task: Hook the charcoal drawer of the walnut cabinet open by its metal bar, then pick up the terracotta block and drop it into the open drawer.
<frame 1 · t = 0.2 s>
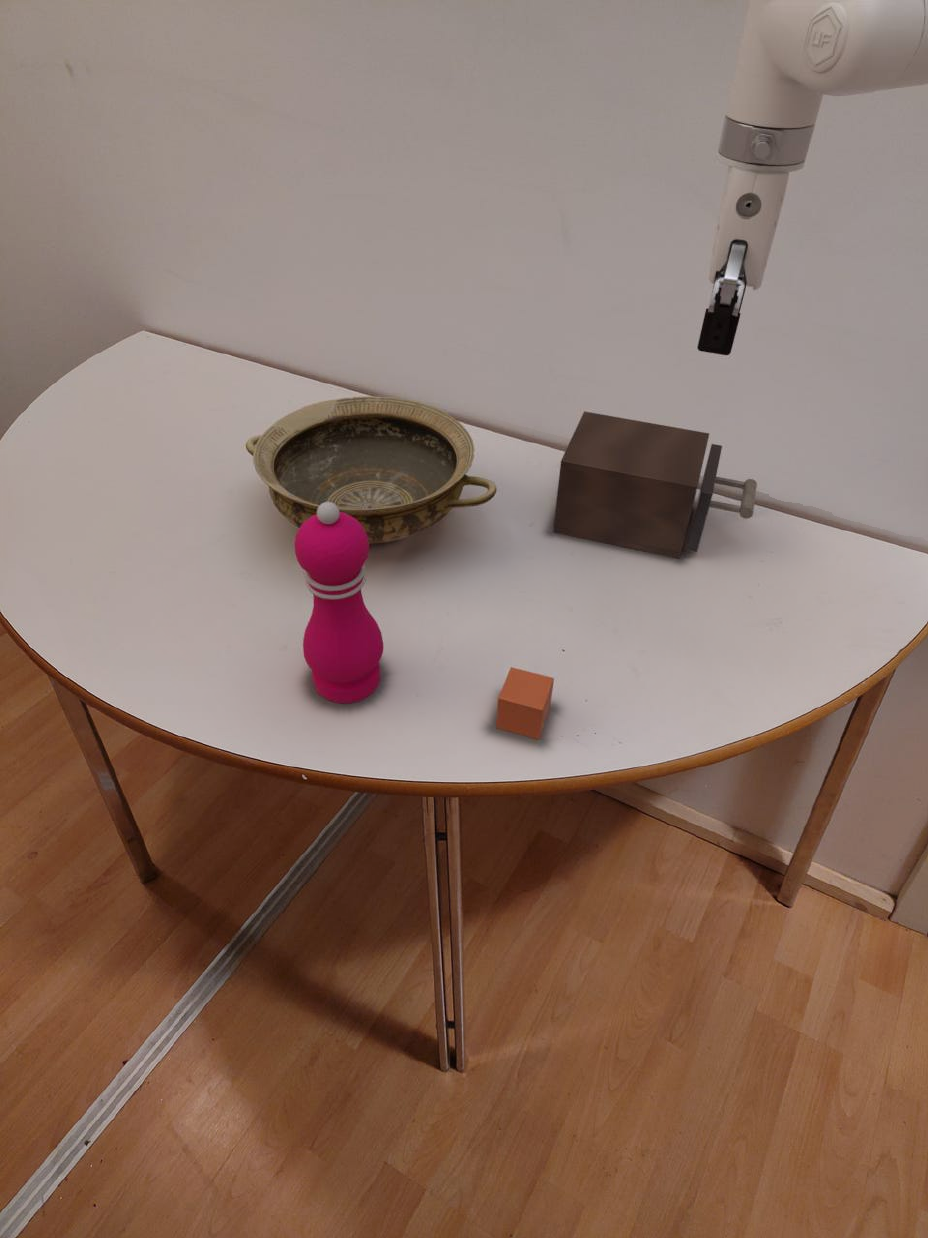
hand: (718, 331, 83), 22 cm above the table, tool pointing down, fingers open, 9 cm apart
block: (523, 717, 74), on the table
cabinet: (624, 517, 97), on the table
pepper mill: (347, 680, 78), on the table
ceramic bowl: (370, 522, 96), on the table
drawer: (670, 490, 93), point 5 cm above the table, slide at 0.5 cm
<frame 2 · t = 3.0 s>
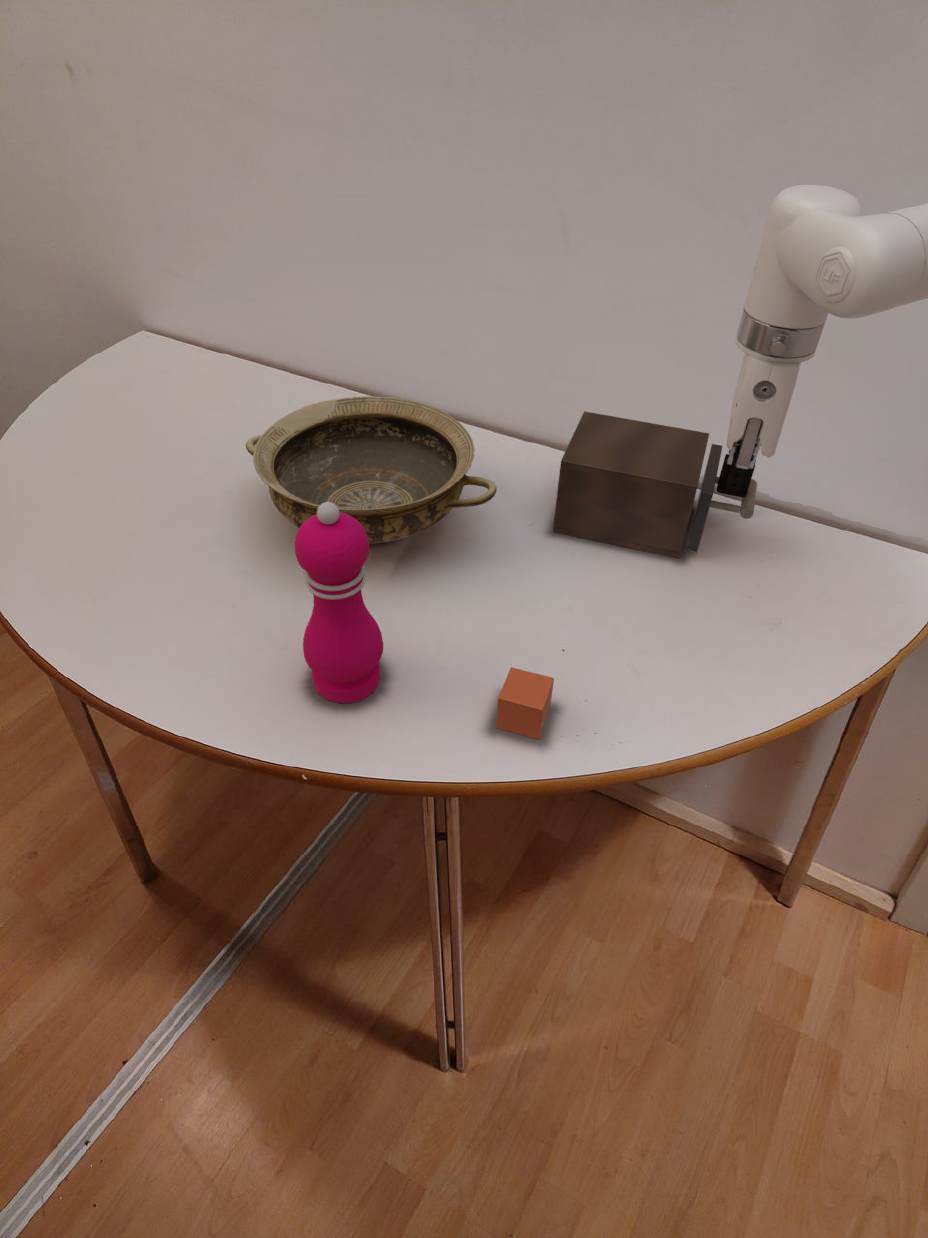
hand: (731, 490, 91), 6 cm above the table, tool pointing down, fingers closed
drawer: (670, 490, 93), point 5 cm above the table, slide at 0.5 cm, touching gripper
everything else where it was.
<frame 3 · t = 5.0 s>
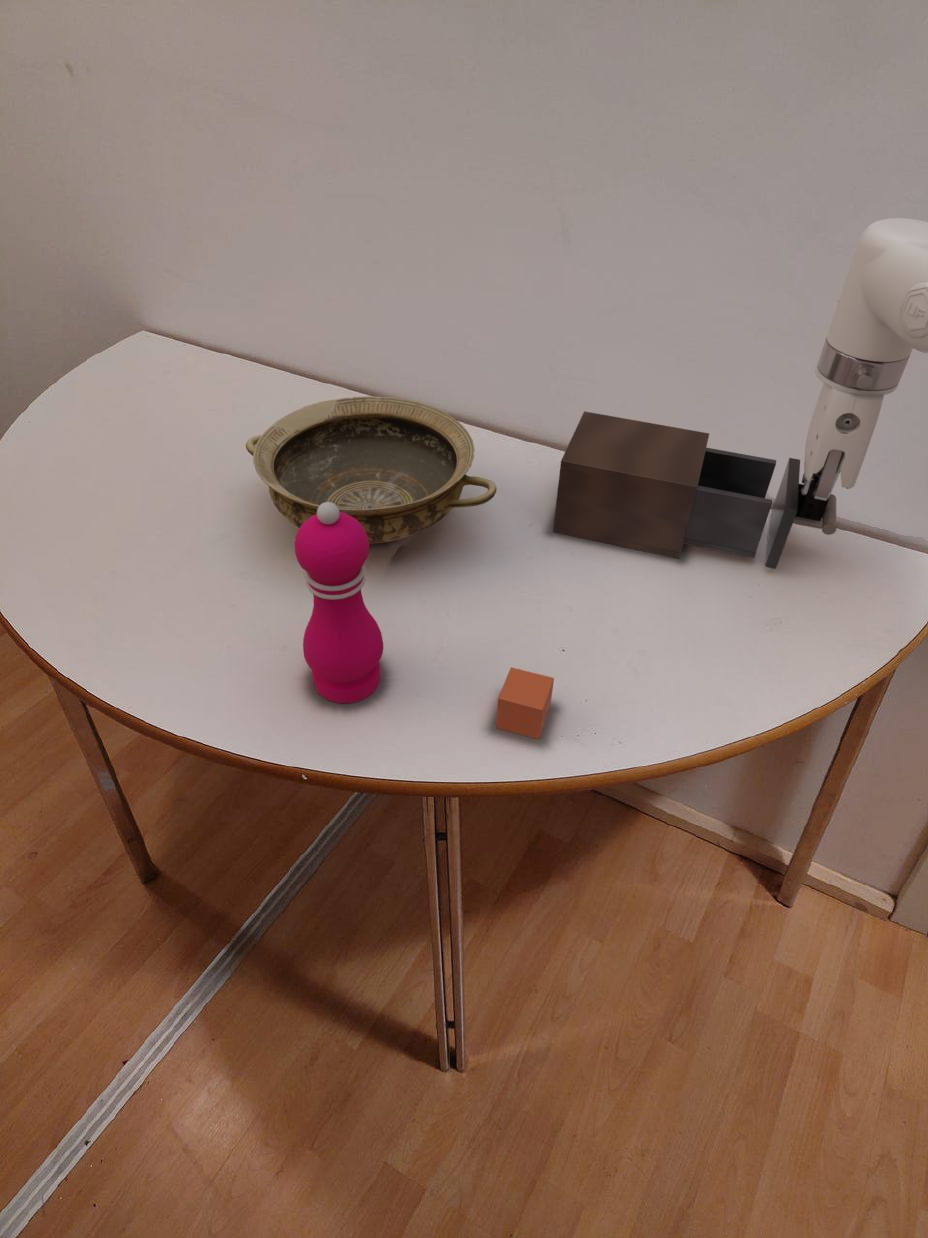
hand: (803, 520, 90), 4 cm above the table, tool pointing down, fingers closed
drawer: (747, 505, 91), point 5 cm above the table, slide at 9.1 cm, touching gripper
everything else where it was.
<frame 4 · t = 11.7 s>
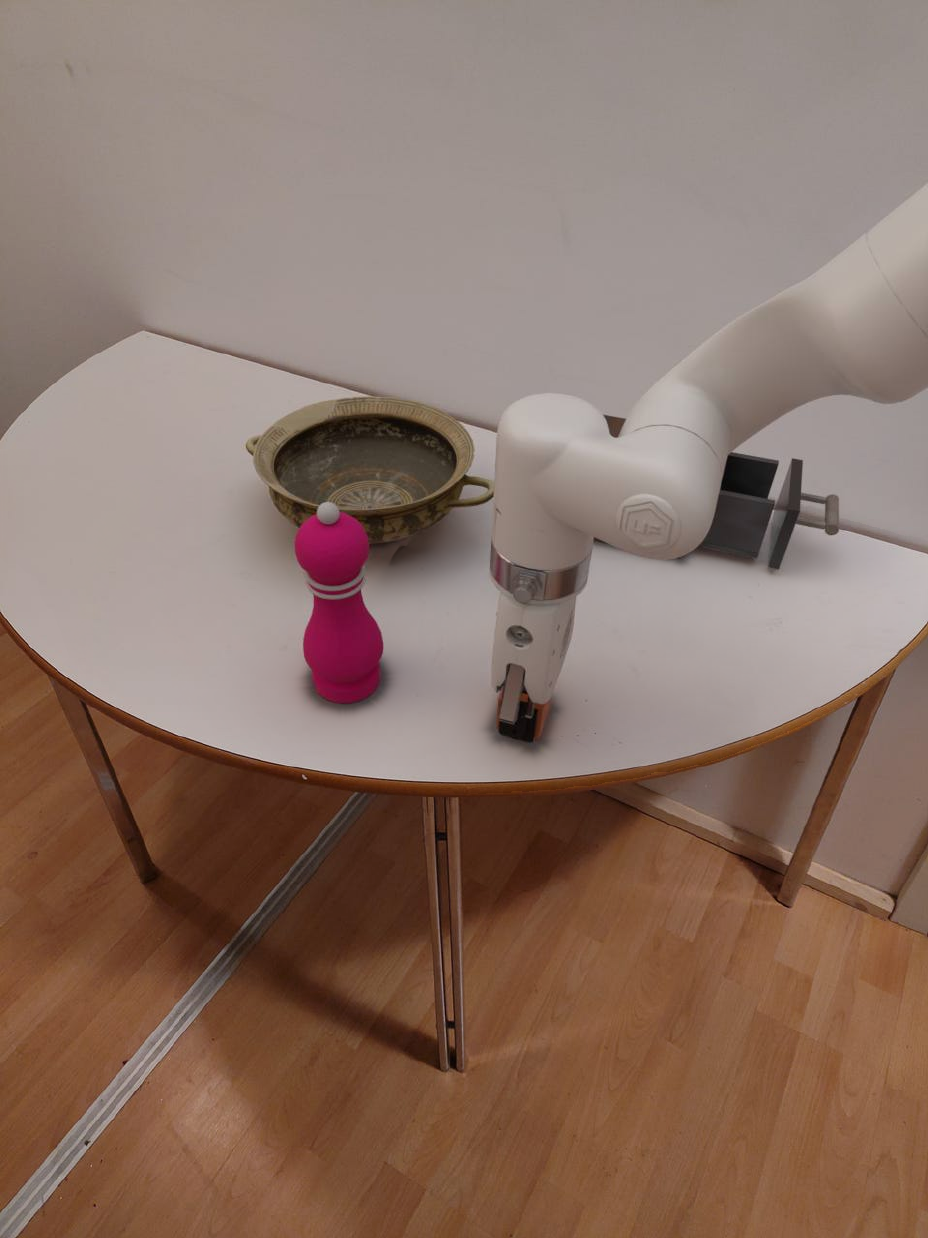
hand: (523, 715, 74), 0 cm above the table, tool pointing down, fingers closed on block, 4 cm apart
block: (523, 717, 74), on the table, touching gripper
drawer: (750, 506, 91), point 5 cm above the table, slide at 9.3 cm
everything else where it was.
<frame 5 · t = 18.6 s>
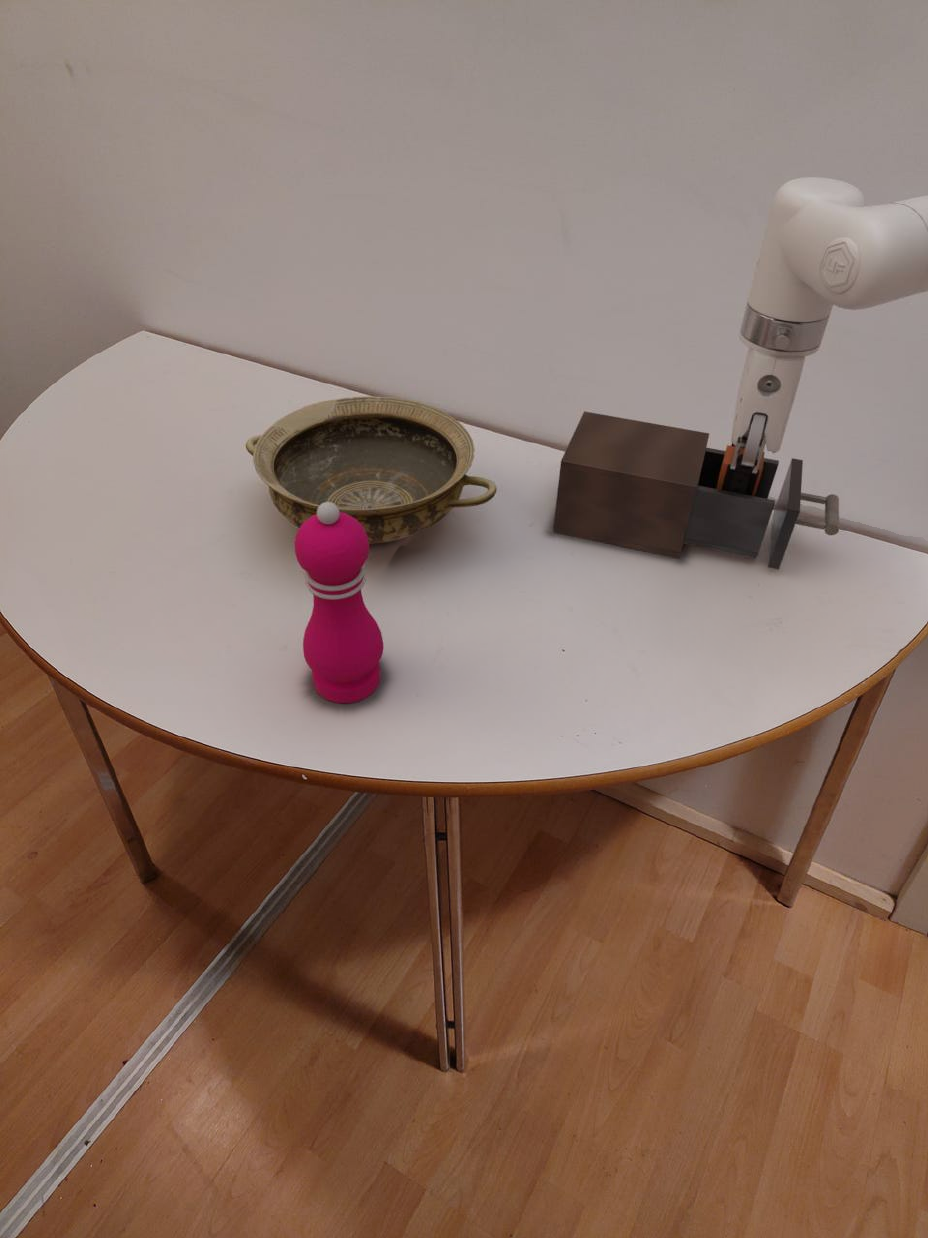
hand: (736, 486, 90), 7 cm above the table, tool pointing down, fingers closed on block, 4 cm apart
block: (735, 488, 90), point 7 cm above the table, touching gripper
drawer: (750, 506, 91), point 5 cm above the table, slide at 9.3 cm, touching gripper
everything else where it was.
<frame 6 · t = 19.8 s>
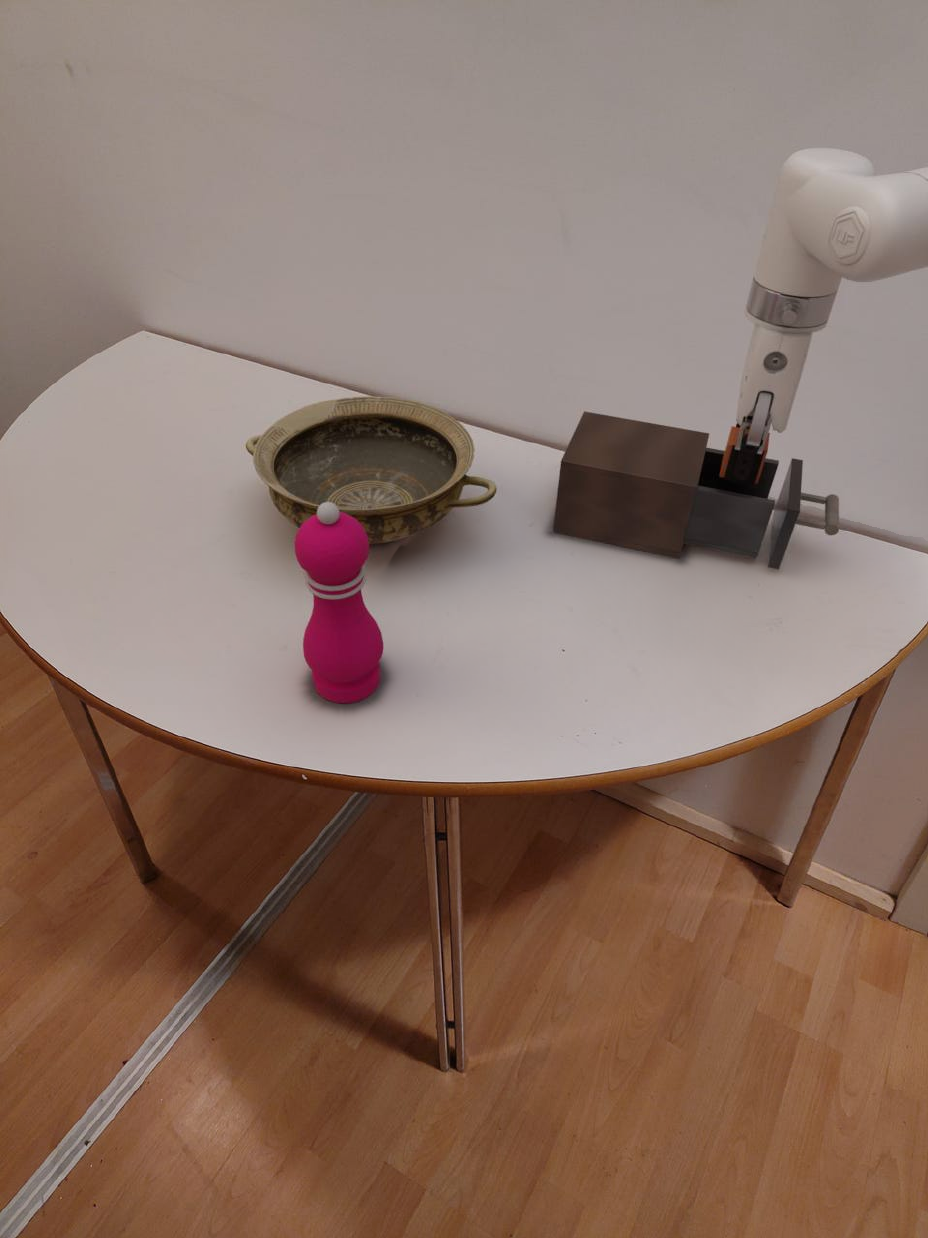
hand: (741, 468, 89), 9 cm above the table, tool pointing down, fingers closed on block, 4 cm apart
block: (739, 470, 89), point 9 cm above the table, touching gripper
drawer: (750, 506, 91), point 5 cm above the table, slide at 9.3 cm
everything else where it was.
when the fingers open (9 cm above the table, at t = 28.2 s): block drops 7 cm, resting on drawer.
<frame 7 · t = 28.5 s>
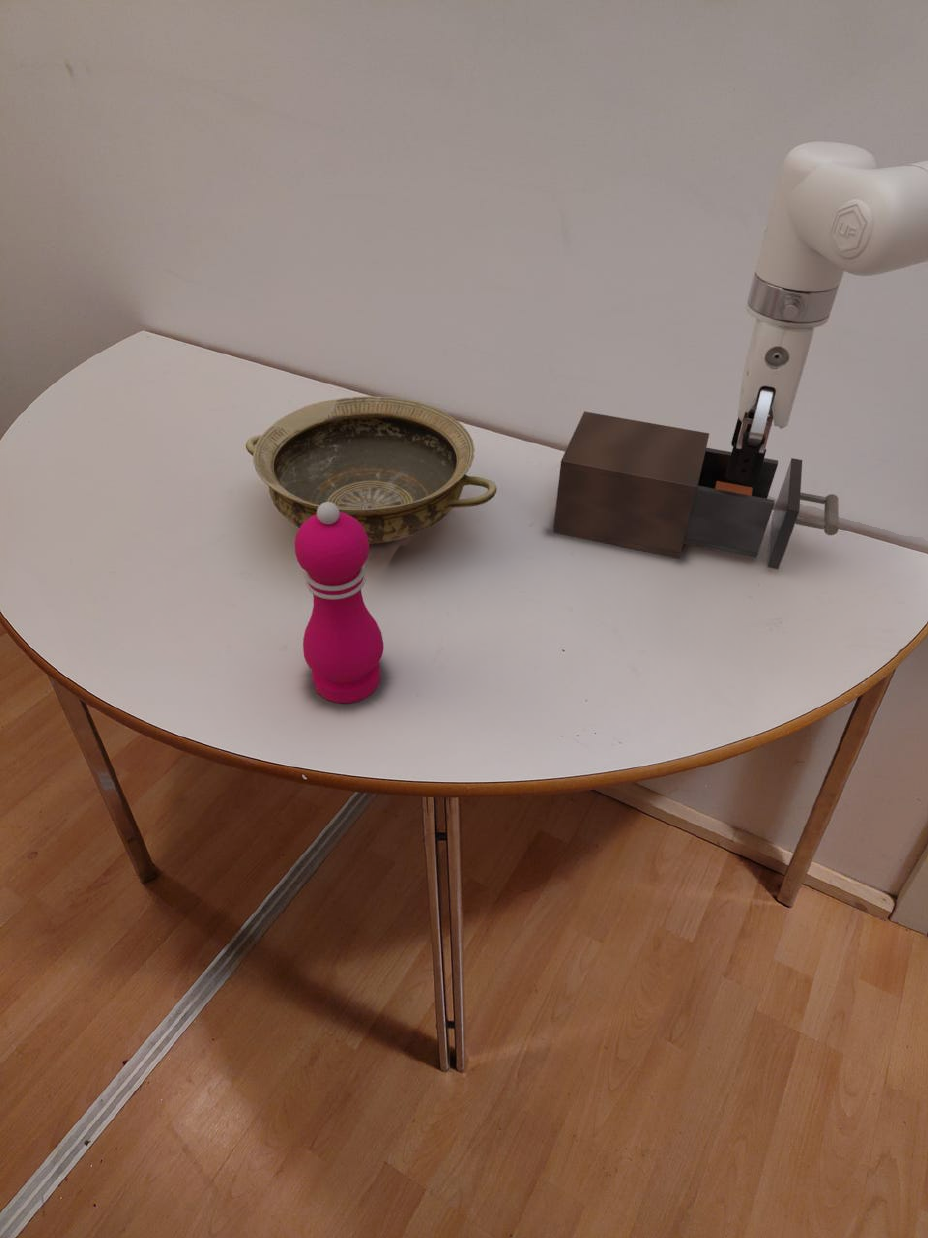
hand: (743, 462, 88), 10 cm above the table, tool pointing down, fingers open, 6 cm apart
block: (724, 522, 94), point 2 cm above the table, touching drawer
drawer: (749, 506, 91), point 5 cm above the table, slide at 9.3 cm, touching block
everything else where it was.
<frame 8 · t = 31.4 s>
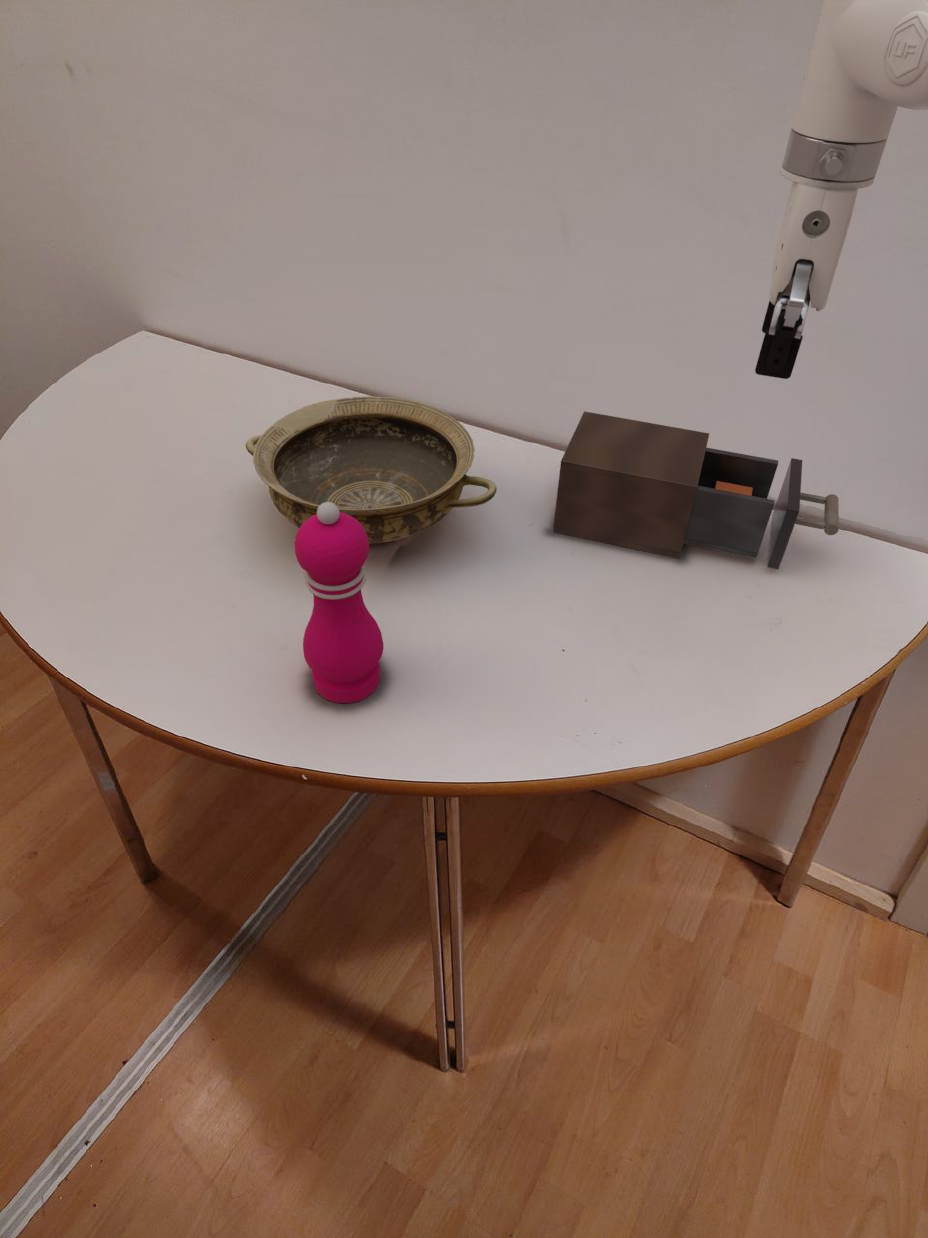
hand: (774, 353, 80), 22 cm above the table, tool pointing down, fingers open, 9 cm apart
nothing on the table moved.
at the end: drawer slide at 9.3 cm; block inside the target area in the drawer (0.2 cm from its centre), point 2.0 cm above the cabinet's base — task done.
